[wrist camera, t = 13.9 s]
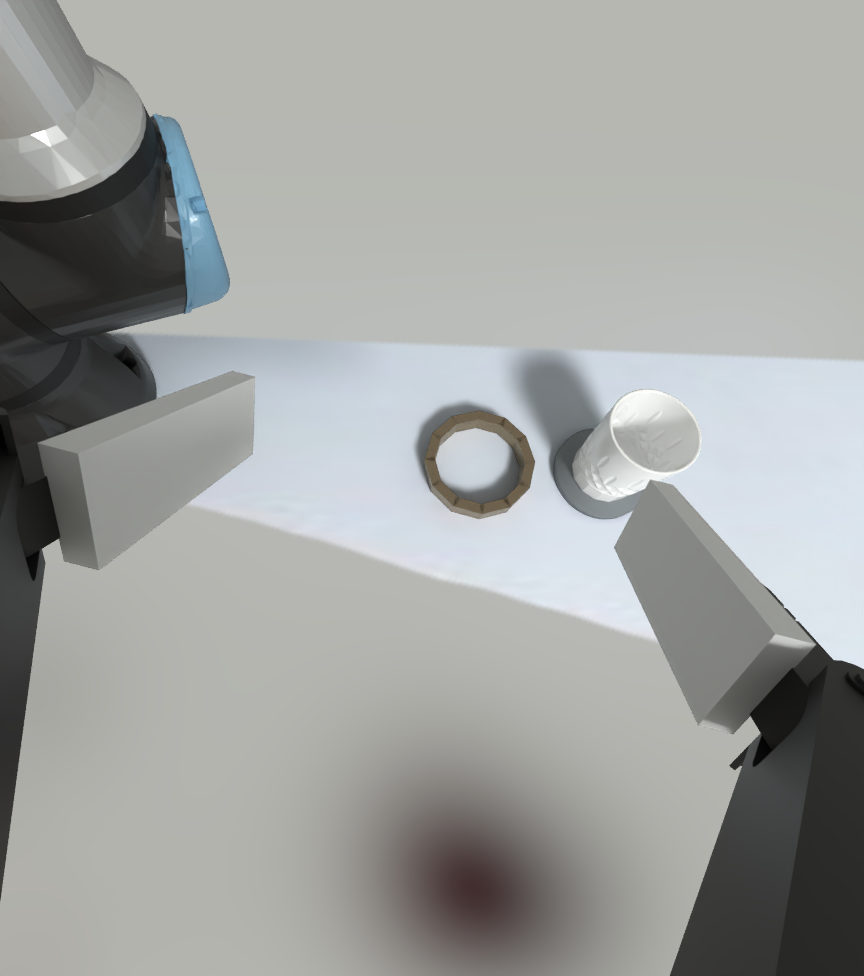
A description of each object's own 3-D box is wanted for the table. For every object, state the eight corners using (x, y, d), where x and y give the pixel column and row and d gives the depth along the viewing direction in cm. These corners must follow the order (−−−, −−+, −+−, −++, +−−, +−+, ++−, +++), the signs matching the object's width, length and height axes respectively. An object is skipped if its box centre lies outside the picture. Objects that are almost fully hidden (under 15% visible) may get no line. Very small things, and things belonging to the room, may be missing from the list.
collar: (413, 500, 44) (413, 495, 42) (440, 409, 47) (442, 400, 45) (516, 529, 43) (522, 525, 41) (536, 435, 47) (542, 427, 45)
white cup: (551, 456, 45) (591, 410, 36) (610, 427, 47) (663, 375, 37) (593, 520, 43) (647, 490, 34) (653, 487, 45) (720, 449, 35)
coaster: (546, 504, 44) (549, 502, 43) (561, 422, 48) (565, 418, 47) (639, 530, 44) (644, 528, 43) (648, 446, 47) (653, 442, 46)
